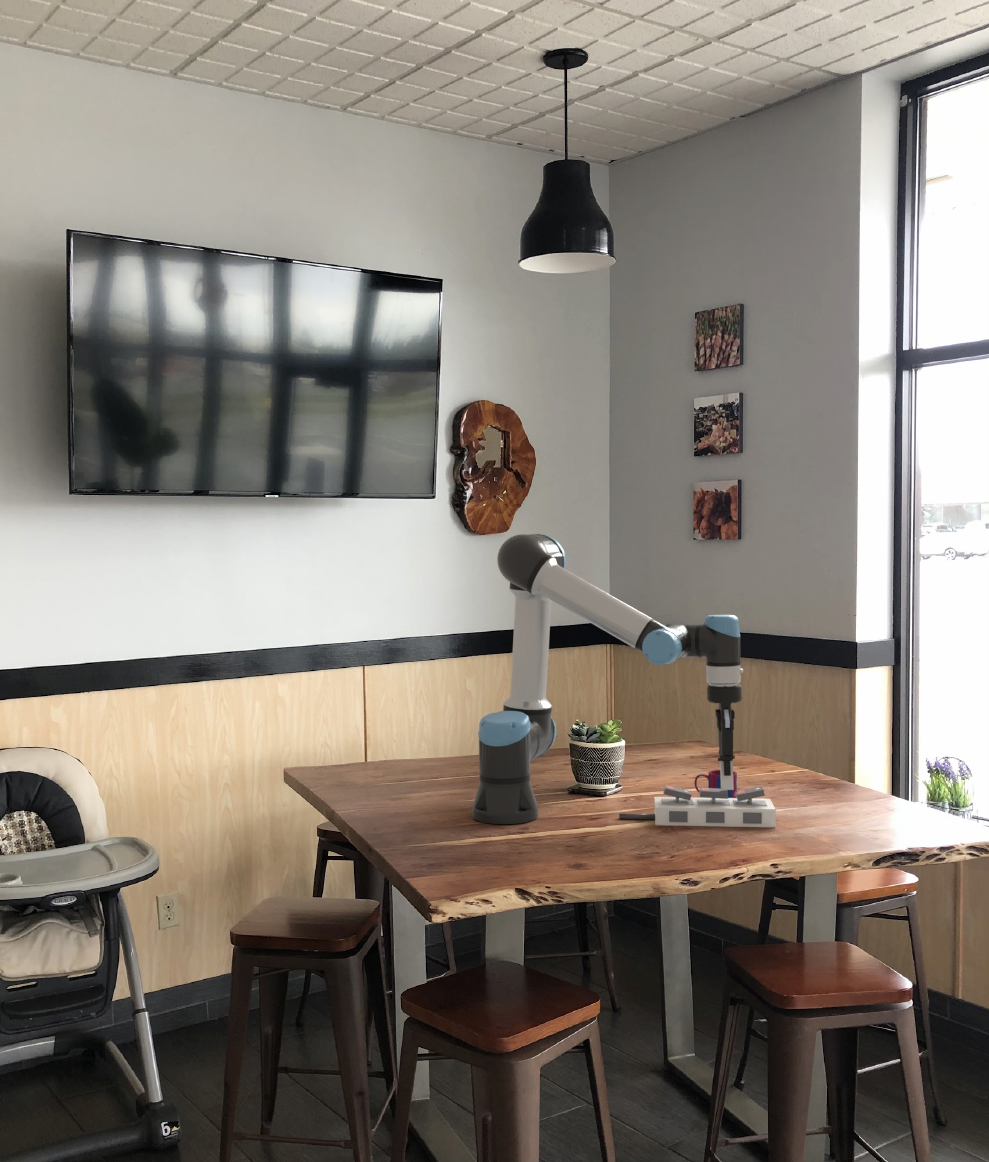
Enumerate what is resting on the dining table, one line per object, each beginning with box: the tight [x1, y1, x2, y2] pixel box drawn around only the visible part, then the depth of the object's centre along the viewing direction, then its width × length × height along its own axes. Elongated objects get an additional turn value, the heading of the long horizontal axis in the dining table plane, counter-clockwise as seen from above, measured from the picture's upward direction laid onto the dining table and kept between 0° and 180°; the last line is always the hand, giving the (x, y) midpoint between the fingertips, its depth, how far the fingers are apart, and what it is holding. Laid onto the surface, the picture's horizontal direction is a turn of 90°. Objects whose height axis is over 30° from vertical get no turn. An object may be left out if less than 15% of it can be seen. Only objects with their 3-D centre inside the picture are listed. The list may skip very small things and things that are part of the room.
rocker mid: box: [698, 787, 728, 799], centre depth 252 cm, size 6×4×2 cm, turn 83°
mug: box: [694, 769, 738, 798], centre depth 271 cm, size 7×10×7 cm
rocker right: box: [735, 786, 766, 801], centre depth 251 cm, size 6×4×2 cm, turn 83°
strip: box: [618, 796, 777, 828], centre depth 252 cm, size 34×10×5 cm, turn 83°
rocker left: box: [662, 784, 692, 800], centre depth 253 cm, size 6×4×1 cm, turn 83°
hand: (727, 789), depth 251 cm, fingers closed
